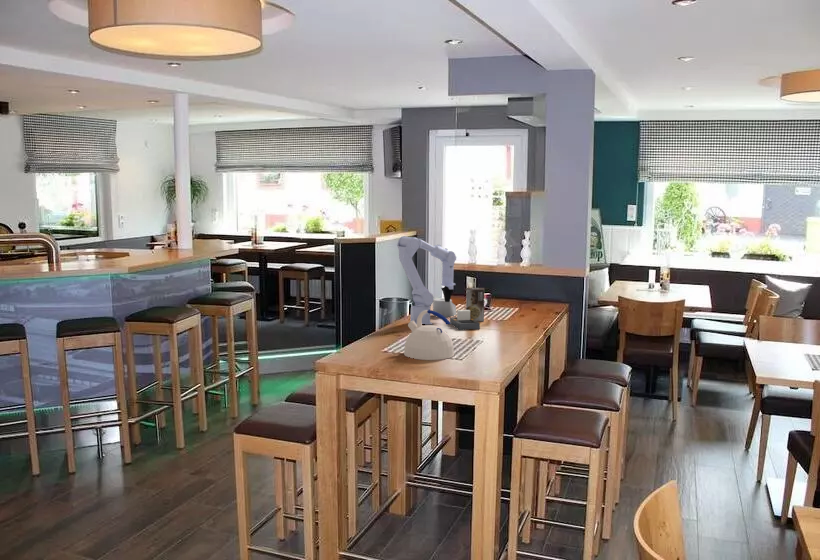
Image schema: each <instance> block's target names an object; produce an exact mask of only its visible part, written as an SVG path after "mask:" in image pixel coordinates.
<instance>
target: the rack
mask: <svg viewBox="0 0 820 560" xmlns="http://www.w3.org/2000/svg"><path fill="white" fill-rule="evenodd" d="M449 322H450V323H451V324H450V325H451V326H453V327H454V326H455V327H454V328H456V329H457V328H458V329H457V330H458V331H466V330H467V329H468V330H469V329H473V330H480V329H481V326H480V325H481V324H480V321H476V320H474V319H473V318H470V320H457V316H454V317H449ZM463 329H464V330H463ZM465 329H466V330H465ZM468 330H467V331H468Z"/></svg>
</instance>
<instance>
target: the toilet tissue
mask: <svg viewBox="0 0 820 560" xmlns="http://www.w3.org/2000/svg"><path fill="white" fill-rule="evenodd" d="M432 306H433V307H432V311H435V312H437V313H439V314H441V315H443V316H444V317H445V318H451V317H450V316H453V317H455V316H454V315H457V306H456V305H455V304H454V303H453V299H450V302H445V299H444V297H439V298H437V297H436V298H434V300H433V303H432ZM434 316H435V315H434ZM434 316H433V317H434Z"/></svg>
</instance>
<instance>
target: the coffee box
mask: <svg viewBox="0 0 820 560" xmlns="http://www.w3.org/2000/svg"><path fill="white" fill-rule="evenodd" d="M465 289H466V295H465V299H466V303H465V307H466V308H465V310H470V318H473V319H474V320H476V321H477V322H485V287H466V288H465Z"/></svg>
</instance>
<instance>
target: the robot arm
mask: <svg viewBox="0 0 820 560" xmlns="http://www.w3.org/2000/svg"><path fill="white" fill-rule="evenodd" d="M396 246H397V248H398V259H399V262H400V264H401V266H402V268H403V271H404V272H405V274H406V277H407V278H408V281H409V283H410V286H411V288H412V291H411V295H412V300H413V303H414V305H411V307H410V321H409V323H410V322H411V321H415V323H416V324H417V318H418V316H419V314H420V313H421V312H423V311H424V310H431V306H432V305H433V300H434V299H435V298H434V295H433V294H432V293H431V292H430V291H429V289H428V288H427V287H426V286H425V285H424V282H423V281H422V278H421V277H420V274H419V272H418V270H417V267H416V265H415V263H414V261H413V256H414V255H415V253H417V252H418V249H422V250H424V251H427V252H429V253H430V255H431V256H432V257H434V258H435V259H438V260H440V261H441V265H442V267H441V286H442V287H440V289H441V291H442V294H443V298H444V299H445V302H450V299H451V298H452V294H453V292H454V290H455V289H454V286H456V283H455V282H454V269H455V267H454V266H455V262H456V260H457V256H456V253H455V252H454V251H452V250H451V251H450V250H448V248H444V247H442V245H441V244H435V245H432V244H430V243H428V242H427V241H425V240H423V239H421V238H417V237H412V236H411V237H410V236H406V235H404V236H401V237H399V239H398V242H397V244H396ZM451 300H452V299H451ZM422 324H425V325H433V322H432V321H431V314H430V313H426V314H424V315H423V317H422Z"/></svg>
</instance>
